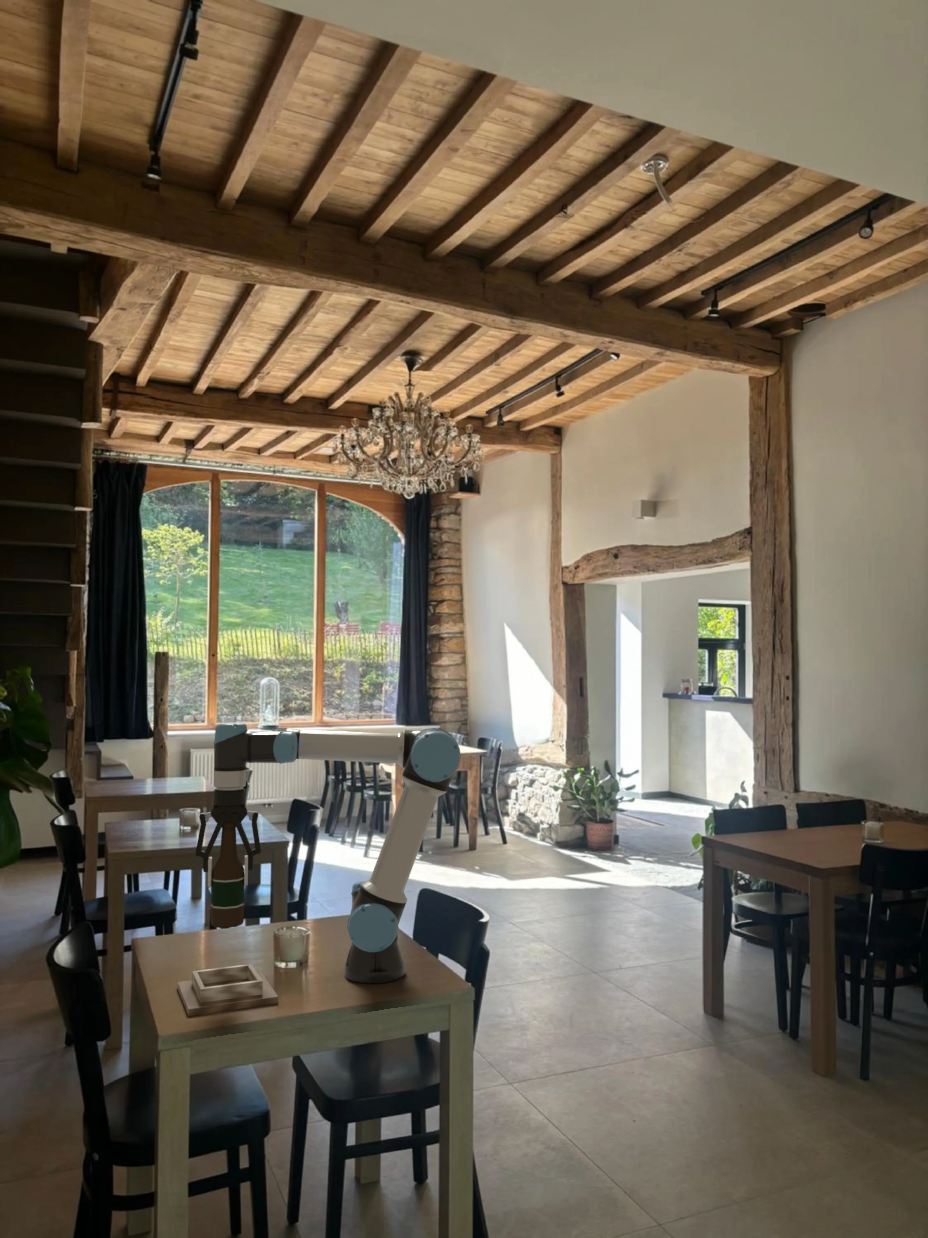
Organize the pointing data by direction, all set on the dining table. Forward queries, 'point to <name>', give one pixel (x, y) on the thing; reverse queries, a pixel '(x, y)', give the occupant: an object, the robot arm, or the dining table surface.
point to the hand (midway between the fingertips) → (227, 885)
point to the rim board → (225, 990)
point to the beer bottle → (227, 883)
